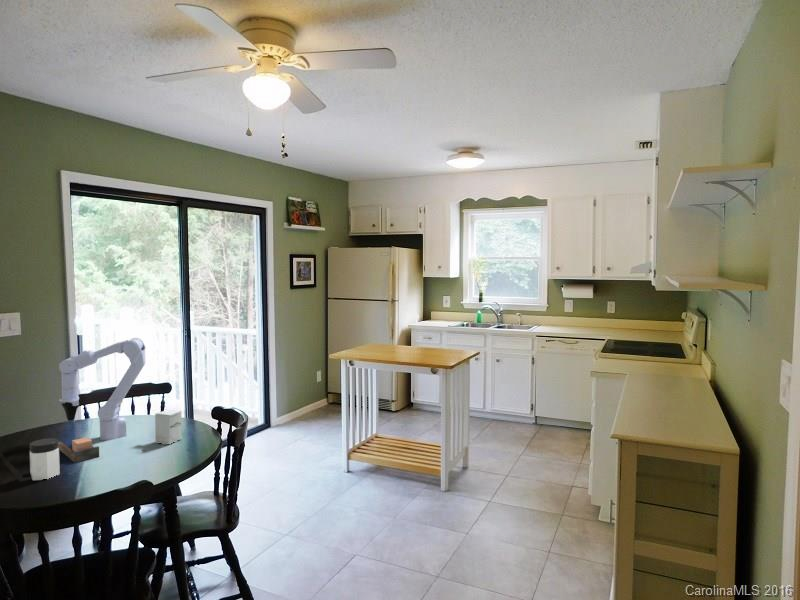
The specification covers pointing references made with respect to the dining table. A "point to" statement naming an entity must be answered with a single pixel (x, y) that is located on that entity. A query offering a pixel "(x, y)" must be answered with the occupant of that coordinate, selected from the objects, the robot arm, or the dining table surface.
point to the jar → (44, 459)
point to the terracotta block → (81, 444)
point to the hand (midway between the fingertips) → (71, 419)
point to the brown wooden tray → (79, 453)
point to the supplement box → (168, 426)
